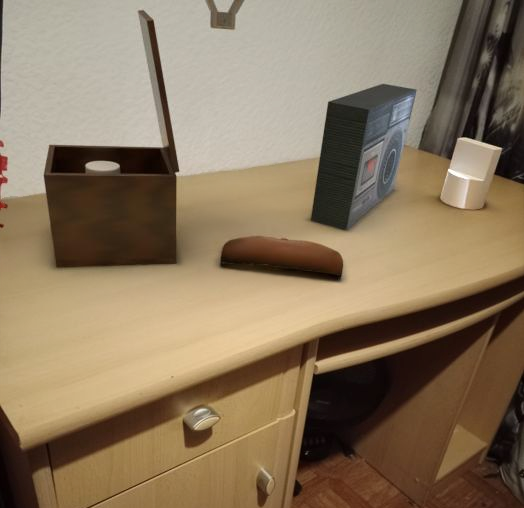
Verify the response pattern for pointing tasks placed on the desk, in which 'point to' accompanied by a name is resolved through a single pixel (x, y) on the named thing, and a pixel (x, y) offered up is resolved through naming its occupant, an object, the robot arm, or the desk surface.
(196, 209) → the desk surface
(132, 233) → the box
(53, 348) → the desk surface
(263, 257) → the sunglasses case
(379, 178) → the cassette player
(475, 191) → the base with upright slab
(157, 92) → the box lid
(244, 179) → the desk surface
